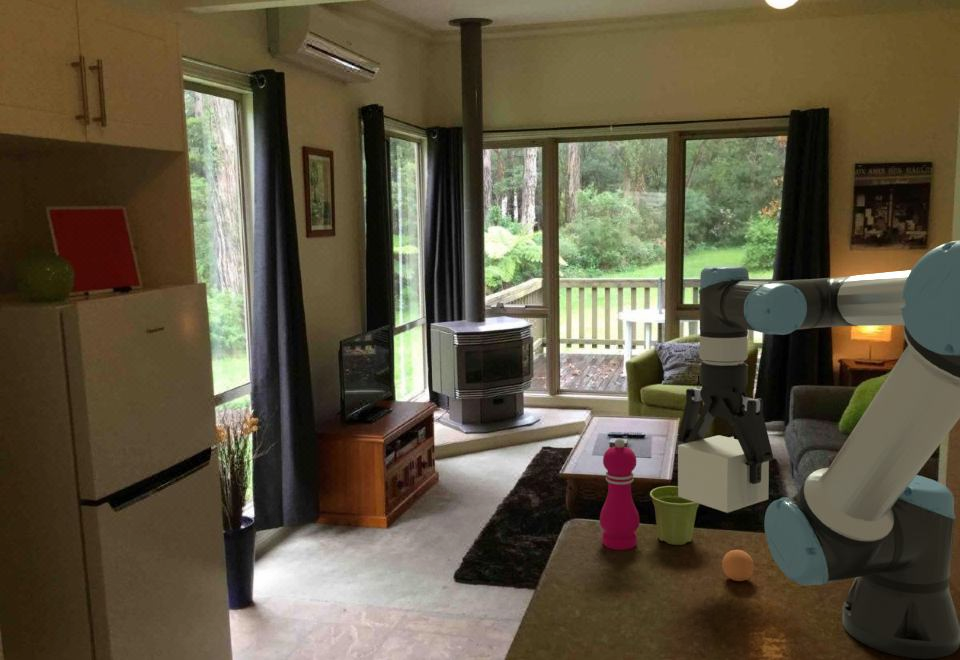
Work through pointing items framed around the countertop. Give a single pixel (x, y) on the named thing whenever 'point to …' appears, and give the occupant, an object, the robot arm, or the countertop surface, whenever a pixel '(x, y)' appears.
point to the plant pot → (673, 515)
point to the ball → (738, 565)
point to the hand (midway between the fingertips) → (722, 493)
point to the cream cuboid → (716, 473)
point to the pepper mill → (619, 499)
